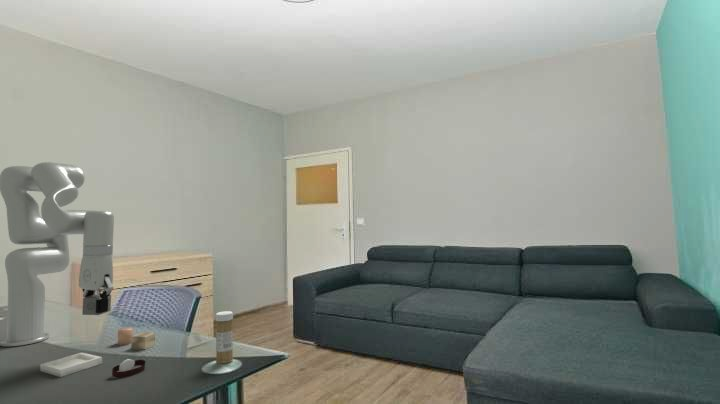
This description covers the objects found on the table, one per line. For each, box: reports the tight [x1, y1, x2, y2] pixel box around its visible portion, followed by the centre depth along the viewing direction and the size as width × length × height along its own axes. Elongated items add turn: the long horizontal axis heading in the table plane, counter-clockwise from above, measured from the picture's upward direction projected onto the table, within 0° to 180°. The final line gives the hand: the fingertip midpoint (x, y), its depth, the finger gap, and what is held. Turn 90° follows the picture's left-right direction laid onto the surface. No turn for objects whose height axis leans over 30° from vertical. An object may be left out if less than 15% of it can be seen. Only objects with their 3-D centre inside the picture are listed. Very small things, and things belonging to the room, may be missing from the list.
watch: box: [111, 358, 147, 379], centre depth 98 cm, size 8×5×4 cm, turn 141°
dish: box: [39, 352, 103, 378], centre depth 102 cm, size 10×10×2 cm
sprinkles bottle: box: [215, 310, 234, 365], centre depth 105 cm, size 5×5×14 cm
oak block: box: [130, 332, 156, 350], centre depth 119 cm, size 5×4×4 cm
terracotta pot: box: [117, 326, 134, 346], centre depth 124 cm, size 4×4×4 cm
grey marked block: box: [81, 293, 112, 316], centre depth 114 cm, size 5×5×5 cm
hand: (95, 310), depth 114 cm, fingers closed on grey marked block, 5 cm apart
